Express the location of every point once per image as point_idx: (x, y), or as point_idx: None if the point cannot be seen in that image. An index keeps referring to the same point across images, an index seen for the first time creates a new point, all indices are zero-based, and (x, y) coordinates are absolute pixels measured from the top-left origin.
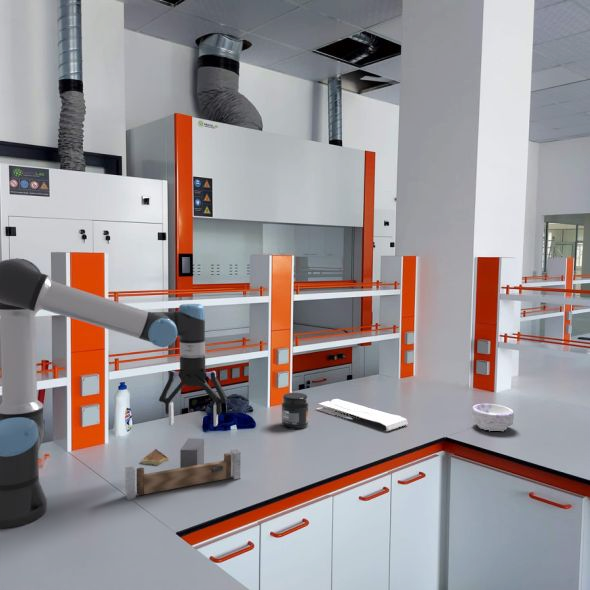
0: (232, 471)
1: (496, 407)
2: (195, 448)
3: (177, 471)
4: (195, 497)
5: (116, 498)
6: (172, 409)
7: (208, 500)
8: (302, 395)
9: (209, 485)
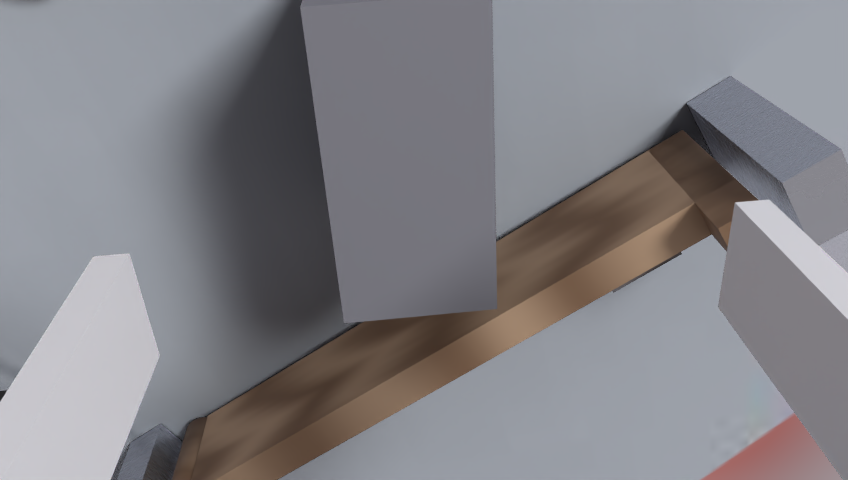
0: (722, 152)
1: None
2: (471, 275)
3: (388, 411)
4: (512, 397)
5: None
6: (69, 450)
7: (587, 413)
8: None
9: None
